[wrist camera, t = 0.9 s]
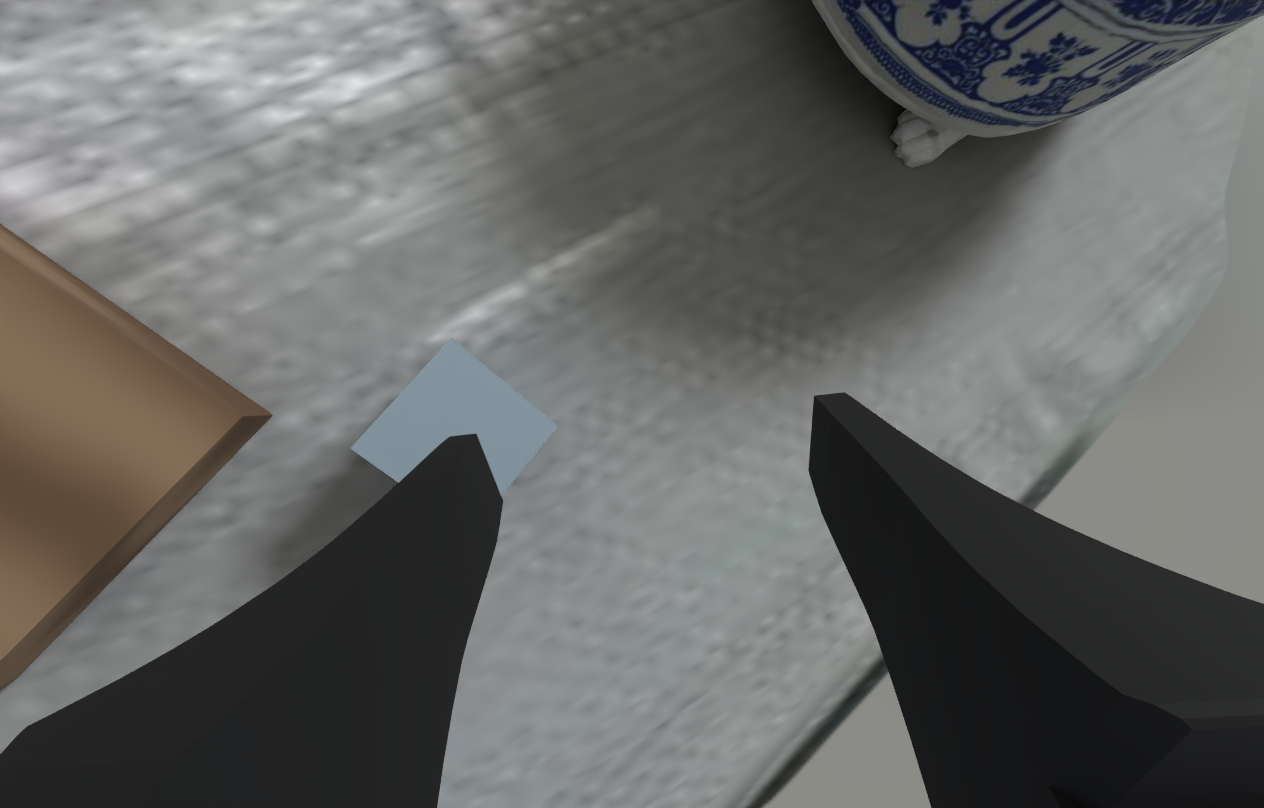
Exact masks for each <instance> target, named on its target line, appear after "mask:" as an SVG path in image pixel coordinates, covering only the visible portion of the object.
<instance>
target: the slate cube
mask: <svg viewBox="0 0 1264 808" xmlns="http://www.w3.org/2000/svg"><path fill="white" fill-rule="evenodd" d="M557 427H558V425H557V424H555V423H554V422H553V421H552V420H551V419H549V418H548V417H547V416H546V415H544V414H543V413H542V412H541V411H540V410H538V409H537V408H536V407H535V406H533V405H532V404H531V403H530V402H529V401H527V400H526V399H525V398H524V397H522V396H521V395H520V394H519V393H518V392H516V391H515V390H514V389H513V388H512V387H510V386H509V385H508V384H507V383H505V382H504V381H503V380H502V379H501V378H499V377H498V376H497V375H496V374H494V373H493V372H492V371H491V370H490V369H488V368H487V367H486V366H485V365H484V364H482V363H481V362H480V361H479V360H477V359H476V358H475V357H474V356H473V355H471V354H470V353H469V352H468V351H466V350H465V349H464V348H463V347H462V346H460V345H459V344H458V343H457V342H455V341H454V340H453V339H452V338H451V339H450V340H449V341H448V342H447V343H446V344H445V345H444V346H443V347H442V348H441V349H440V351H439V352H438V353H437V354H436V355H435V356H434V357H433V358H432V359H431V360H430V362H429V363H428V364H427V365H426V366H425V367H424V368H423V369H422V370H421V371H420V372H419V374H418V375H417V376H416V377H415V378H414V379H413V380H412V381H411V382H410V383H409V384H408V386H407V387H406V388H405V389H404V390H403V391H402V392H401V393H400V394H399V395H398V396H397V398H396V399H395V400H394V401H393V402H392V403H391V404H390V405H389V406H388V407H387V408H386V410H385V411H384V412H383V413H382V414H381V415H380V416H379V417H378V418H377V419H376V421H375V422H374V423H373V424H372V425H371V426H370V427H369V428H368V429H367V430H366V431H365V433H364V434H363V435H362V436H361V437H360V438H359V439H358V440H357V441H356V442H355V443H354V445H353V446H352V447H351V448H350V449H352V450H353V451H354V452H356V453H357V454H359V455H360V456H361V457H363V458H364V459H366V460H367V461H369V462H370V463H371V464H373V465H374V466H376V467H377V468H378V469H380V470H381V471H383V472H384V473H385V474H387V475H388V476H390V477H391V478H392V479H394V480H395V481H397V482H398V483H399V482H400V481H401V480H402V479H403V478H404V477H405V476H406V475H407V474H409V473H410V472H411V471H412V470H413V469H414V468H415V467H416V466H417V465H418V464H419V463H420V462H421V461H422V460H423V459H424V458H426V457H427V456H428V455H429V454H430V453H431V452H432V451H433V450H434V449H435V448H436V447H438V446H439V445H440V444H441V443H442V442H443V441H445V440H446V439H447V438H448V437H450V436H458V435H467V434H477V436H478V439H479V441H480V444H481V446H482V449H483V451H484V454H485V456H486V459H487V461H488V464H489V467H490V469H491V472H492V474H493V477H494V479H495V482H496V484H497V487H498V489H499V492H500V494H501V496H502V495H503V493H504V492H505V491H506V490H507V488H508V487H509V486H510V485H511V484H512V482H513V481H514V480H515V479H516V477H517V476H518V475H519V474H520V472H521V471H522V470H523V469H524V468H525V466H526V465H527V464H528V463H529V461H530V460H531V459H532V458H533V456H534V455H535V454H536V453H537V452H538V450H539V449H540V448H541V447H542V445H543V444H544V443H545V442H546V440H547V439H548V438H549V437H550V436H551V434H552V433H553V432H554V431H555V429H556V428H557Z"/></svg>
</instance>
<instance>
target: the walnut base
mask: <svg viewBox="0 0 1264 808" xmlns="http://www.w3.org/2000/svg"><path fill="white" fill-rule="evenodd" d="M271 416H272V414H271V413H269V412H268V411H266V410H265V409H263V408H262V407H261V406H259V405H258V404H256V403H255V402H253V401H252V400H251V399H249V398H248V397H246V396H245V395H244V394H242V393H241V392H239V391H238V390H236V389H235V388H234V387H232V386H231V385H229V384H228V383H226V382H225V381H224V380H222V379H221V378H219V377H218V376H216V375H215V374H214V373H212V372H211V371H209V370H208V369H206V368H205V367H204V366H202V365H201V364H199V363H198V362H196V361H195V360H194V359H192V358H191V357H189V356H188V355H186V354H185V353H184V352H182V351H181V350H179V349H178V348H176V347H175V346H174V345H172V344H171V343H169V342H168V341H167V340H165V339H164V338H162V337H161V336H159V335H158V334H157V333H155V332H154V331H152V330H151V329H149V328H148V327H147V326H145V325H144V324H142V323H141V322H139V321H138V320H137V319H135V318H134V317H132V316H131V315H129V314H128V313H127V312H125V311H124V310H122V309H121V308H119V307H118V306H117V305H115V304H114V303H112V302H111V301H109V300H108V299H107V298H105V297H104V296H102V295H101V294H99V293H98V292H97V291H95V290H94V289H92V288H91V287H90V286H88V285H87V284H85V283H84V282H82V281H81V280H80V279H78V278H77V277H75V276H74V275H72V274H71V273H70V272H68V271H67V270H65V269H64V268H62V267H61V266H60V265H58V264H57V263H55V262H54V261H52V260H51V259H50V258H48V257H47V256H45V255H44V254H42V253H41V252H40V251H38V250H37V249H35V248H34V247H32V246H31V245H30V244H28V243H27V242H25V241H24V240H22V239H21V238H20V237H18V236H17V235H15V234H14V233H13V232H11V231H10V230H8V229H7V228H5V227H4V226H3V225H1V224H0V688H1V687H3V686H5V685H6V684H8V683H10V682H11V681H13V680H14V679H16V678H17V677H18V676H19V675H20V674H21V673H22V672H23V671H24V670H25V669H26V668H27V667H28V666H29V665H30V664H31V663H32V662H33V661H34V660H35V659H36V658H37V657H38V656H39V655H40V654H41V653H42V652H43V651H44V650H45V649H46V648H47V647H48V646H49V645H50V644H51V642H52V641H53V640H54V639H55V638H56V637H57V636H58V635H59V634H60V633H61V632H62V631H63V630H64V629H65V628H66V627H67V626H68V625H69V624H70V623H71V622H72V621H73V620H74V619H75V618H76V617H77V616H78V615H79V614H80V613H81V612H82V611H83V610H84V609H85V608H86V607H87V606H88V604H89V603H90V602H91V601H92V600H93V599H94V598H95V597H96V596H97V595H98V594H99V593H100V592H101V591H102V590H103V589H104V588H105V587H106V586H107V585H108V584H109V583H110V582H111V581H112V580H113V579H114V578H115V577H116V576H117V575H118V574H119V573H120V572H121V571H122V570H123V569H124V567H125V566H126V565H127V564H128V563H129V562H130V561H131V560H132V559H133V558H134V557H135V556H136V555H137V554H138V553H139V552H140V551H141V550H142V549H143V548H144V547H145V546H146V545H147V544H148V543H149V542H150V541H151V540H152V539H153V538H154V537H155V536H156V535H157V534H158V533H159V532H160V531H161V529H162V528H163V527H164V526H165V525H166V524H167V523H168V522H169V521H170V520H171V519H172V518H173V517H174V516H175V515H176V514H177V513H178V512H179V511H180V510H181V509H182V508H183V507H184V506H185V505H186V504H187V503H188V502H189V501H190V500H191V499H192V498H193V497H194V496H195V495H196V494H197V493H198V491H199V490H200V489H201V488H202V487H203V486H204V485H205V484H206V483H207V482H208V481H209V480H210V479H211V478H212V477H213V476H214V475H215V474H216V473H217V472H218V471H219V470H220V469H221V468H222V467H223V466H224V465H225V464H226V463H227V462H228V461H229V460H230V459H231V458H232V457H233V456H234V454H235V453H236V452H237V451H238V450H239V449H240V448H241V447H242V446H243V445H244V444H245V443H246V442H247V441H248V440H249V439H250V438H251V437H252V436H253V435H254V434H255V433H256V432H257V431H258V430H259V429H260V428H261V427H262V426H263V425H264V424H265V423H266V422H267V421H268V420H269V419H270V418H271Z"/></svg>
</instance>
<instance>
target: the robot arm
mask: <svg viewBox="0 0 1264 808" xmlns="http://www.w3.org/2000/svg"><path fill="white" fill-rule="evenodd" d="M809 473H810V477H811V480H812V484H813V487H814V490H815V494H816V497H817V500H818V503H819V506H820V509H821V512H822V515H823V517H824V519H825V522H826V524H827V526H828V528H829V530H830V533H831V535H832V537H833V539H834V541H835V544H836V546H837V548H838V550H839V552H840V555H841V557H842V559H843V561H844V563H845V565H846V567H847V570H848V572H849V574H850V576H851V578H852V580H853V583H854V585H855V587H856V589H857V591H858V593H859V596H860V598H861V600H862V602H863V604H864V606H865V609H866V611H867V614H868V616H869V618H870V621H871V623H872V626H873V628H874V631H875V633H876V636H877V639H878V642H879V645H880V648H881V651H882V654H883V657H884V660H885V662H886V665H887V668H888V671H889V674H890V677H891V680H892V683H893V686H894V689H895V692H896V695H897V698H898V701H899V704H900V707H901V711H902V714H903V717H904V720H905V723H906V726H907V729H908V732H909V735H910V738H911V741H912V745H913V748H914V751H915V755H916V758H917V761H918V765H919V768H920V771H921V774H922V778H923V781H924V784H925V788H926V791H927V794H928V798H929V801H930V804H931V808H1264V604H1262V603H1259V602H1256V601H1253V600H1250V599H1247V598H1243V597H1241V596H1238V595H1235V594H1232V593H1229V592H1227V591H1224V590H1221V589H1218V588H1216V587H1213V586H1210V585H1208V584H1205V583H1202V582H1200V581H1197V580H1194V579H1192V578H1189V577H1186V576H1183V575H1181V574H1179V573H1176V572H1173V571H1171V570H1168V569H1165V568H1162V567H1160V566H1157V565H1155V564H1152V563H1150V562H1147V561H1145V560H1143V559H1140V558H1138V557H1135V556H1133V555H1130V554H1128V553H1125V552H1123V551H1120V550H1118V549H1116V548H1113V547H1111V546H1109V545H1107V544H1104V543H1102V542H1100V541H1098V540H1095V539H1093V538H1090V537H1088V536H1086V535H1084V534H1082V533H1079V532H1077V531H1075V530H1073V529H1070V528H1068V527H1066V526H1064V525H1062V524H1059V523H1057V522H1055V521H1053V520H1051V519H1049V518H1047V517H1045V516H1043V515H1041V514H1039V513H1037V512H1035V511H1033V510H1031V509H1029V508H1027V507H1025V506H1023V505H1021V504H1019V503H1017V502H1015V501H1014V500H1012V499H1010V498H1008V497H1006V496H1004V495H1002V494H1000V493H998V492H996V491H995V490H993V489H991V488H989V487H987V486H985V485H984V484H982V483H980V482H978V481H977V480H975V479H973V478H972V477H970V476H968V475H967V474H965V473H963V472H962V471H960V470H958V469H957V468H955V467H953V466H952V465H950V464H948V463H947V462H945V461H944V460H942V459H940V458H939V457H937V456H936V455H934V454H933V453H931V452H930V451H928V450H926V449H925V448H923V447H922V446H920V445H919V444H917V443H916V442H915V441H913V440H912V439H910V438H909V437H907V436H906V435H904V434H903V433H901V432H900V431H898V430H897V429H896V428H894V427H893V426H891V425H890V424H889V423H887V422H886V421H884V420H883V419H882V418H880V417H879V416H877V415H876V414H875V413H873V412H872V411H870V410H869V409H868V408H866V407H865V406H863V405H862V404H861V403H859V402H858V401H856V400H855V399H854V398H852V397H851V396H849V395H848V394H846V393H845V392H844V393H835V394H826V395H817V396H814V404H813V417H812V431H811V445H810V458H809ZM502 505H503V499H502V497H501V494H500V492H499V489H498V487H497V484H496V482H495V479H494V477H493V474H492V472H491V469H490V467H489V464H488V461H487V459H486V456H485V454H484V451H483V449H482V446H481V444H480V441H479V439H478V436H477V434H467V435H458V436H450V437H448V438H447V439H446V440H445V441H443V442H442V443H441V444H440V445H439V446H438V447H436V448H435V449H434V450H433V451H432V452H431V453H430V454H429V455H428V456H427V457H426V458H424V459H423V460H422V461H421V462H420V463H419V464H418V465H417V466H416V467H415V468H414V469H413V470H412V471H411V472H410V473H409V474H407V475H406V476H405V477H404V478H403V479H402V480H401V481H400V482H399V483H398V484H397V485H396V486H395V487H393V488H392V489H391V490H390V491H389V492H388V493H387V494H386V495H385V496H384V497H383V498H382V499H381V500H379V501H378V502H377V503H376V504H375V505H374V506H373V507H371V508H370V509H369V510H368V511H367V512H366V513H364V514H363V515H362V516H361V517H360V518H359V519H358V520H356V521H355V522H354V523H353V524H352V525H351V526H349V527H348V528H347V529H346V530H345V531H344V532H342V533H341V534H340V535H339V536H338V537H337V538H335V539H334V540H333V541H332V542H330V543H329V544H328V545H327V546H325V547H324V548H323V549H322V550H320V551H319V552H318V553H317V554H315V555H314V556H313V557H311V558H310V559H309V560H307V561H306V562H305V563H303V564H302V565H301V566H299V567H298V568H297V569H295V570H294V571H292V572H291V573H290V574H288V575H287V576H286V577H284V578H283V579H282V580H280V581H279V582H277V583H276V584H274V585H273V586H271V587H270V588H268V589H267V590H265V591H264V592H262V593H261V594H259V595H258V596H256V597H255V598H253V599H252V600H250V601H249V602H247V603H246V604H244V605H243V606H241V607H240V608H238V609H237V610H235V611H234V612H232V613H231V614H229V615H228V616H226V617H225V618H223V619H222V620H220V621H219V622H217V623H215V624H214V625H212V626H210V627H209V628H207V629H206V630H204V631H202V632H201V633H199V634H197V635H196V636H194V637H192V638H191V639H189V640H187V641H186V642H184V643H182V644H181V645H179V646H177V647H175V648H174V649H172V650H170V651H168V652H167V653H165V654H163V655H161V656H160V657H158V658H156V659H155V660H153V661H151V662H149V663H148V664H146V665H144V666H142V667H140V668H139V669H137V670H135V671H133V672H131V673H129V674H128V675H126V676H124V677H122V678H120V679H118V680H116V681H115V682H113V683H111V684H109V685H107V686H105V687H103V688H101V689H99V690H97V691H95V692H93V693H92V694H90V695H88V696H86V697H84V698H82V699H80V700H78V701H76V702H74V703H72V704H70V705H68V706H67V707H65V708H63V709H61V710H59V711H57V712H55V713H53V714H51V715H49V716H47V717H45V718H43V719H41V720H39V721H37V722H35V723H33V724H31V725H29V726H27V727H26V728H25V729H24V730H23V731H22V732H21V733H20V734H19V735H18V736H17V737H16V738H15V739H14V740H13V741H12V742H11V743H10V744H9V745H8V747H7V748H6V749H5V750H4V751H3V752H2V753H1V754H0V808H437V803H438V797H439V790H440V783H441V776H442V769H443V762H444V756H445V750H446V744H447V738H448V732H449V727H450V721H451V715H452V709H453V704H454V699H455V694H456V689H457V684H458V678H459V673H460V668H461V663H462V659H463V655H464V651H465V647H466V643H467V640H468V636H469V633H470V629H471V626H472V623H473V620H474V616H475V613H476V610H477V607H478V603H479V600H480V597H481V593H482V590H483V587H484V584H485V580H486V577H487V574H488V570H489V567H490V564H491V560H492V557H493V553H494V550H495V546H496V543H497V537H498V532H499V526H500V519H501V512H502Z"/></svg>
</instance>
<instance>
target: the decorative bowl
mask: <svg viewBox="0 0 1264 808" xmlns="http://www.w3.org/2000/svg"><path fill="white" fill-rule="evenodd" d="M812 2H813V4H814V6H815V7H816V9H817V10H818V12H819V14H820V15H821V17H822V18H823V20H824V22H825V23H826V25H827V27H828V28H829V30H830V31H831V33H832V35H833V36H834V38H835V39H836V41H837V43H838V44H839V46H840V47H841V49H842V50H843V52H844V53H845V55H846V56H847V57H848V58H849V59H850V61H851V62H852V63H853V64H854V65H855V66H856V68H857V69H858V70H859V71H860V72H861V73H862V74H863V75H864V76H865V77H866V78H867V79H868V80H869V81H871V82H872V83H873V84H874V85H875V86H876V87H877V88H879V89H880V90H881V91H882V92H883V93H884V94H886V95H887V96H888V97H890V98H891V99H892V100H894V101H895V102H896V103H898V104H899V105H901V106H903V107H904V108H906V109H907V110H905V111H904V112H903V113H902V114H901V115H900V116H899V117H898V118H897V120H898V124H899V125H898V126H897V128H896V129H895V131H894V132H893V134H892V135H891V136H890V139H891V140H892V141H894V142H895V143H896V144H897V145H898V146H897V148H896V149H895V151H894V155H895V156H897V157H899V158H902V159H903V162H904V165H906V166H908V167H910V168H914V167H917V166H921V165H924V164H927V163H931V162H932V161H933V160H935V159H936V158H937V157H938V156H939V155H941V154H942V153H943V152H944V151H945V150H947V149H948V148H949V147H950V146H951V145H953V144H954V143H956V142H957V141H959V140H960V139H962V138H964V137H965V136H967V135H973V136H979V137H985V138H990V137H999V136H1008V135H1013V134H1018V133H1023V132H1028V131H1033V130H1037V129H1040V128H1043V127H1046V126H1050V125H1053V124H1056V123H1059V122H1061V121H1063V120H1065V119H1067V118H1069V117H1072V116H1075V115H1078V114H1081V113H1083V112H1085V111H1087V110H1089V109H1091V108H1093V107H1095V106H1098V105H1100V104H1102V103H1103V102H1105V101H1107V100H1109V99H1111V98H1113V97H1115V96H1117V95H1119V94H1121V93H1122V92H1124V91H1126V90H1128V89H1130V88H1132V87H1134V86H1135V85H1137V84H1139V83H1141V82H1142V81H1144V80H1146V79H1148V78H1150V77H1151V76H1153V75H1155V74H1157V73H1158V72H1160V71H1162V70H1164V69H1165V68H1167V67H1169V66H1171V65H1172V64H1174V63H1176V62H1178V61H1179V60H1181V59H1183V58H1185V57H1186V56H1188V55H1190V54H1192V53H1193V52H1195V51H1197V50H1199V49H1200V48H1202V47H1204V46H1206V45H1208V44H1210V43H1211V42H1213V41H1215V40H1217V39H1219V38H1221V37H1223V36H1225V35H1227V34H1228V33H1230V32H1232V31H1234V30H1236V29H1238V28H1240V27H1242V26H1243V25H1245V24H1247V23H1249V22H1251V21H1253V20H1255V19H1257V18H1258V17H1260V16H1263V15H1264V0H812Z"/></svg>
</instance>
